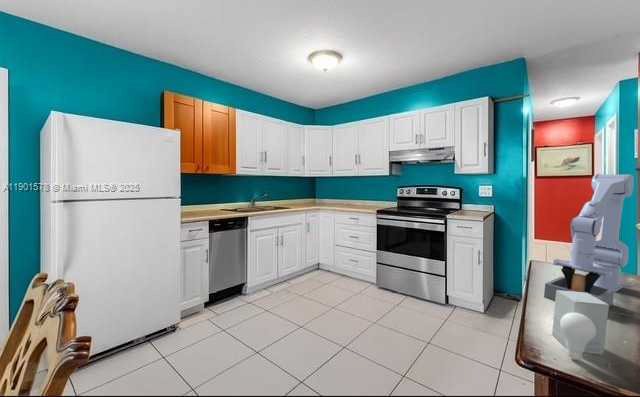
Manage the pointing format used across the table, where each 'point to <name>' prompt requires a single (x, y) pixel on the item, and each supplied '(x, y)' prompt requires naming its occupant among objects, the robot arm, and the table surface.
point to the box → (561, 285)
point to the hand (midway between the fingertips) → (578, 291)
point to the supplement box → (586, 307)
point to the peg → (578, 282)
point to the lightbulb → (577, 333)
